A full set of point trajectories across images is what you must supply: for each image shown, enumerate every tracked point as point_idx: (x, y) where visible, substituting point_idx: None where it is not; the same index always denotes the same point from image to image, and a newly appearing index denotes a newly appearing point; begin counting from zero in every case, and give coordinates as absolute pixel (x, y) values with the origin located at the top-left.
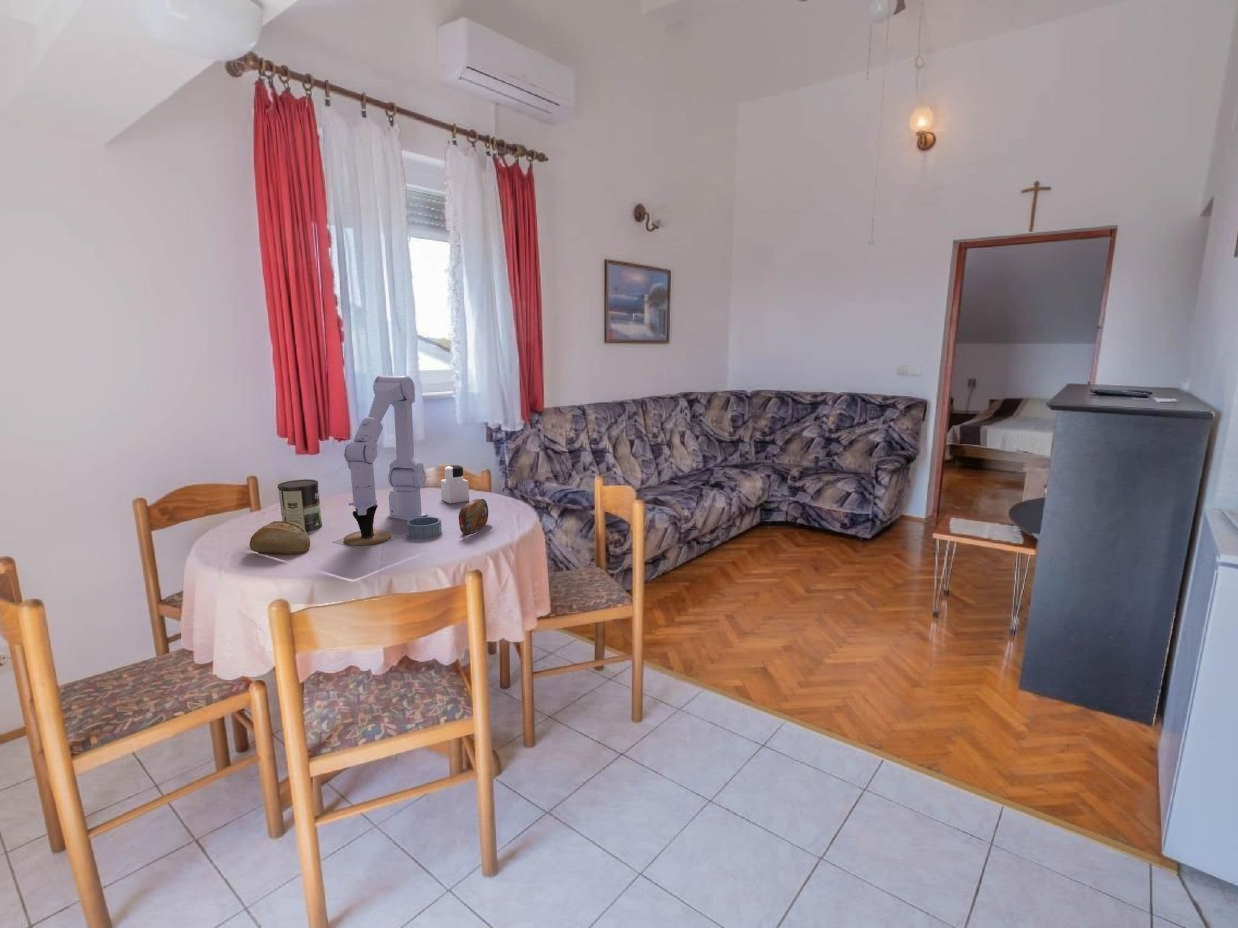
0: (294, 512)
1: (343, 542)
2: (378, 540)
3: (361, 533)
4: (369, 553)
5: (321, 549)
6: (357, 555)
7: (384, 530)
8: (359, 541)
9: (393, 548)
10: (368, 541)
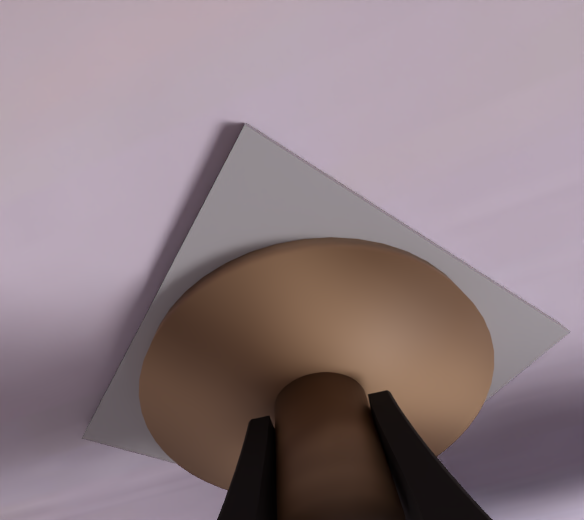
0: None
1: (229, 255)
2: (219, 482)
3: (244, 442)
4: (67, 456)
5: (43, 87)
6: (8, 418)
7: (441, 448)
8: (187, 400)
9: (176, 511)
10: (193, 446)
